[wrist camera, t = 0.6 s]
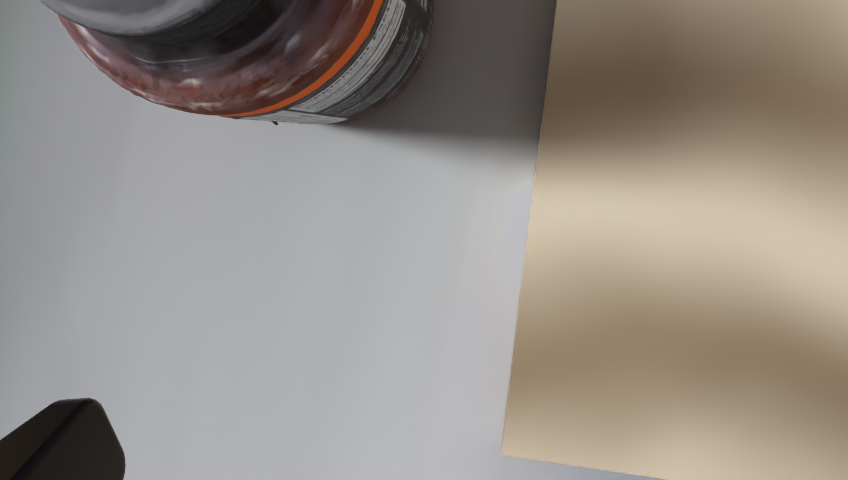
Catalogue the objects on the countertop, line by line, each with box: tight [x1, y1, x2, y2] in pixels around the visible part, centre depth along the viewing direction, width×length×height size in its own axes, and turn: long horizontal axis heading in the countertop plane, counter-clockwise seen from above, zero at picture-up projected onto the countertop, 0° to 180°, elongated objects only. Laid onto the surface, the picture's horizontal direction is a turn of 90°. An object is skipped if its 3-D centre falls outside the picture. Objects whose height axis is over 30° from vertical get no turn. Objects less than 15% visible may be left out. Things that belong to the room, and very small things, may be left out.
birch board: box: [502, 0, 848, 480], centre depth 19 cm, size 18×14×1 cm
